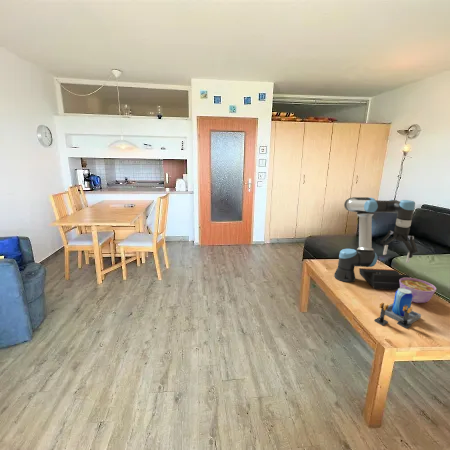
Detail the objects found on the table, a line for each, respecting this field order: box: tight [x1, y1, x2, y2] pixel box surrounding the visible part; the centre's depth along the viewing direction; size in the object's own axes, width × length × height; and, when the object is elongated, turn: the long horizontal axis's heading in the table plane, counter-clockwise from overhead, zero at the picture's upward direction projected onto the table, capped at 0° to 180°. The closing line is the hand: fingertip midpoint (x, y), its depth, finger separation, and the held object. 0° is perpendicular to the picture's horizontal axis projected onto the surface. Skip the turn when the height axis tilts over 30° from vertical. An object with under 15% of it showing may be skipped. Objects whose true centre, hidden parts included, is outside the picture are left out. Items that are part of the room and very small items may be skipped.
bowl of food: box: [399, 277, 437, 304], centre depth 171 cm, size 20×20×12 cm
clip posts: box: [374, 302, 413, 330], centre depth 145 cm, size 13×14×11 cm
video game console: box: [358, 267, 411, 291], centre depth 196 cm, size 28×25×10 cm
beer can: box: [392, 288, 413, 318], centre depth 153 cm, size 8×8×16 cm
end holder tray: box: [384, 303, 422, 324], centre depth 154 cm, size 15×15×2 cm
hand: (395, 258), depth 161 cm, fingers open, 13 cm apart
